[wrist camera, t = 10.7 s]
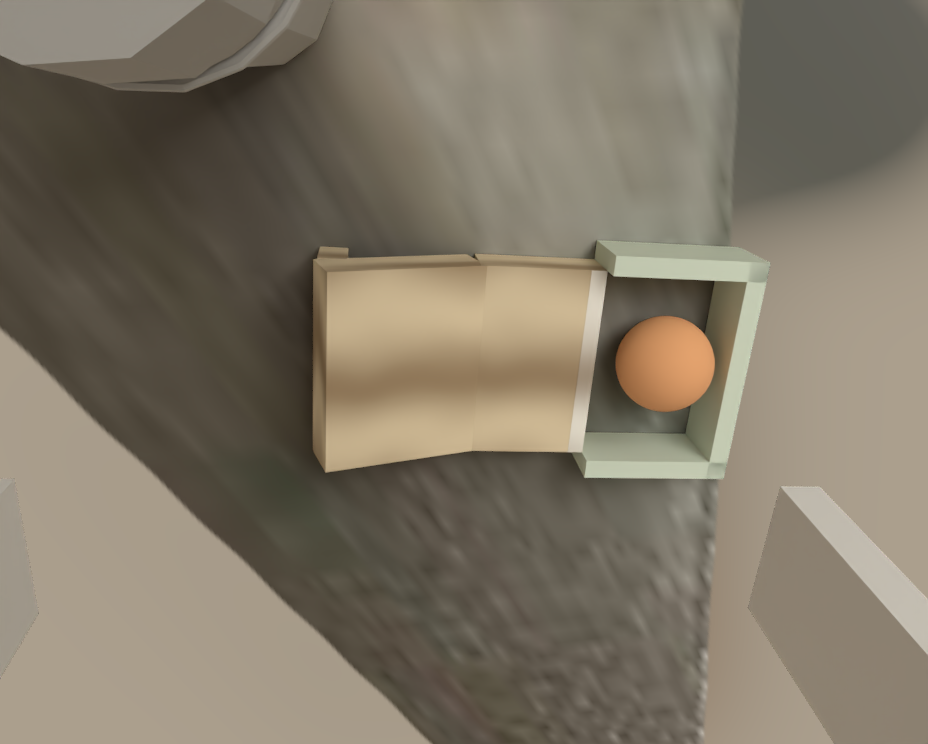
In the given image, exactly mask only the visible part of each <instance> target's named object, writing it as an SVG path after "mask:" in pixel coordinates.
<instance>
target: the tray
mask: <svg viewBox="0 0 928 744" xmlns="http://www.w3.org/2000/svg"><path fill="white" fill-rule="evenodd" d="M594 259H595V260H596V261H597V262H598V263H599V264H600V265H601V266H603V267H604V268H605V269H606V270H607V271H608V272H609V273H610V274H612V275H613V276H618V277H641V278H664V279H687V280H711V281H715V283H714V288H713V293H712V298H711V303H710V308H709V314H708V319H707V324H706V329H705V334H704V335H705V336H706V337H707V339H708V340H709V342H710V344H711V347H712V349H713V353H714V358H715V369H714V375H713V378H712V381H711V383H710V385H709V387H708V389H707V390H706V392H705V393H704V394H703V395H702V396H701V397H700V398H699V399H698V400H697V401H696V402H694V403H693V404H691V407H690V412H689V417H688V422H687V427H686V432H685V434H670V433H610V432H585V436H584V443H583V450H582V452H571V453H572V455H573V457H574V458H575V460H576V462H577V464H578V466H579V468H580V470H581V472H582V474H583V476H584V478H672V479H724V474H725V470H726V465H727V460H728V456H729V451H730V447H731V442H732V438H733V433H734V429H735V424H736V419H737V415H738V410H739V406H740V401H741V397H742V392H743V387H744V382H745V378H746V374H747V369H748V364H749V360H750V355H751V351H752V346H753V342H754V337H755V332H756V328H757V323H758V319H759V314H760V309H761V305H762V300H763V296H764V291H765V287H766V282H767V277H768V272H769V268H770V262H768V261H766V260H764V259H762V258H760V257H758V256H756V255H754V254H752V253H750V252H748V251H746V250H744V249H742V248H740V247H725V246H705V245H684V244H664V243H644V242H623V241H603V240H597V243H596V250H595V258H594Z"/></svg>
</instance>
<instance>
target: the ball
mask: <svg viewBox="0 0 928 744" xmlns="http://www.w3.org/2000/svg"><path fill="white" fill-rule="evenodd" d="M714 369H715V358H714V353H713V349H712V347H711V344H710V342H709V340H708V339H707V337H706V336H705V335H704V333H703V332H702V331H701V330H700V329H699V328H698V327H696V326H695V325H694V324H692V323H691V322H689V321H686V320H684V319H682V318H678V317H673V316H658V317H652V318H649V319H646V320H644V321H642V322H640V323H638V324H637V325H635V326H634V327H633V328H632V329H631V330H630V331H629V332H628V333H627V334H626V335H625V337H624V338H623V340H622V341H621V343H620V345H619V348H618V351H617V355H616V373H617V377H618V380H619V382H620V384H621V387H622V388H623V390H624V391H625V393H626V394H627V395H628V396H629V397H630V398H631V399H632V400H633V401H634V402H636V403H637V404H639V405H641V406H643V407H644V408H647V409H650V410H654V411H660V412H671V411H677V410H680V409H683V408H686V407H688V406H690V405H691V404H693V403H694V402H696V401H697V400H698V399H699V398H700V397H701V396H702V395H703V394H704V393H705V392H706V390H707V389H708V387H709V385H710V383H711V381H712V378H713V375H714Z"/></svg>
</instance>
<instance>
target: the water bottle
mask: <svg viewBox="0 0 928 744" xmlns="http://www.w3.org/2000/svg"><path fill="white" fill-rule="evenodd" d="M332 2H333V0H0V55H1V56H3V57H6V58H8V59H10V60H12V61H14V62H16V63H19V64H21V65H24V66H28V67H33V68H37V69H41V70H46V71H50V72H54V73H59V74H63V75H67V76H72V77H76V78H80V79H83V80H87V81H90V82H94V83H97V84H100V85H103V86H106V87H109V88H112V89H115V90H129V91H148V92H150V91H158V92H188V91H190V90H193V89H195V88H198V87H201V86H203V85H206V84H208V83H211V82H213V81H216V80H219V79H221V78H224V77H226V76H229V75H231V74H234V73H237V72H239V71H242V70H244V69H245V68H246V67H255V66H270V65H284V64H285V63H287V62H288V61H290V60H291V59H292V58H294V57H295V56H296V55H298V54H299V53H300V52H302V51H303V50H304V49H306V48H307V47H308V46H310V45H311V44H312V43H314V42H315V41H316V40H317V39H318V37H319V34H320V32H321V29H322V27H323V24H324V22H325V19H326V17H327V14H328V12H329V9H330V7H331V4H332Z"/></svg>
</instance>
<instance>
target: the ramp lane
mask: <svg viewBox="0 0 928 744" xmlns="http://www.w3.org/2000/svg"><path fill="white" fill-rule="evenodd" d="M607 274H608V271H607V270H606V269H605V268H604V267H603V266H601V265H600V264H599V263H598V262H597V261H596V260H595V259H580V258H558V257H536V256H515V255H493V254H475V258H472V257H470V256H469V255H467V254H459V255H428V256H397V257H367V258H348V248H341V247H320V249H319V252H318V256H317V259H313V452H314V453H315V455H316V457H317V459H318V460H319V462H320V464H321V466H322V467H323V469H324V471H325V472H332V471H339V470H346V469H353V468H359V467H366V466H373V465H379V464H386V463H393V462H400V461H406V460H413V459H420V458H427V457H433V456H440V455H447V454H454V453H460V452H467V451H525V452H582V450H583V443H584V436H585V429H586V422H587V415H588V408H589V401H590V394H591V386H592V379H593V372H594V365H595V358H596V351H597V344H598V337H599V330H600V323H601V316H602V309H603V302H604V295H605V288H606V281H607Z"/></svg>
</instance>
